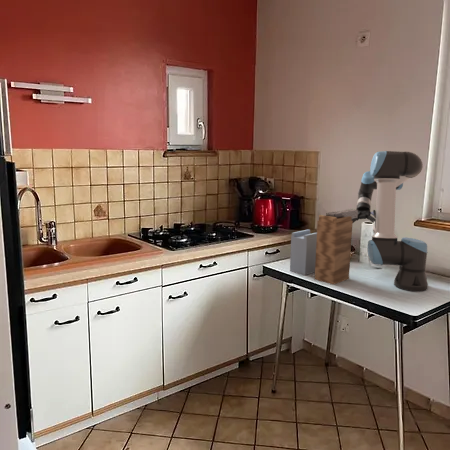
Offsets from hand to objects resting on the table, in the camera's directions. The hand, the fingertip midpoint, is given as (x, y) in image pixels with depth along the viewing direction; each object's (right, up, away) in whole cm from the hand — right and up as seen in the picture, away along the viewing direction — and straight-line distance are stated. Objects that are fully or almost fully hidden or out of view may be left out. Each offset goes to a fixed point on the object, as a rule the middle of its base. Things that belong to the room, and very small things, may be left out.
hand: (360, 232), depth 241 cm
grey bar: (-13, +7, -12) cm, 19 cm away
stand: (-18, -23, -10) cm, 31 cm away
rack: (-29, -21, +4) cm, 35 cm away
